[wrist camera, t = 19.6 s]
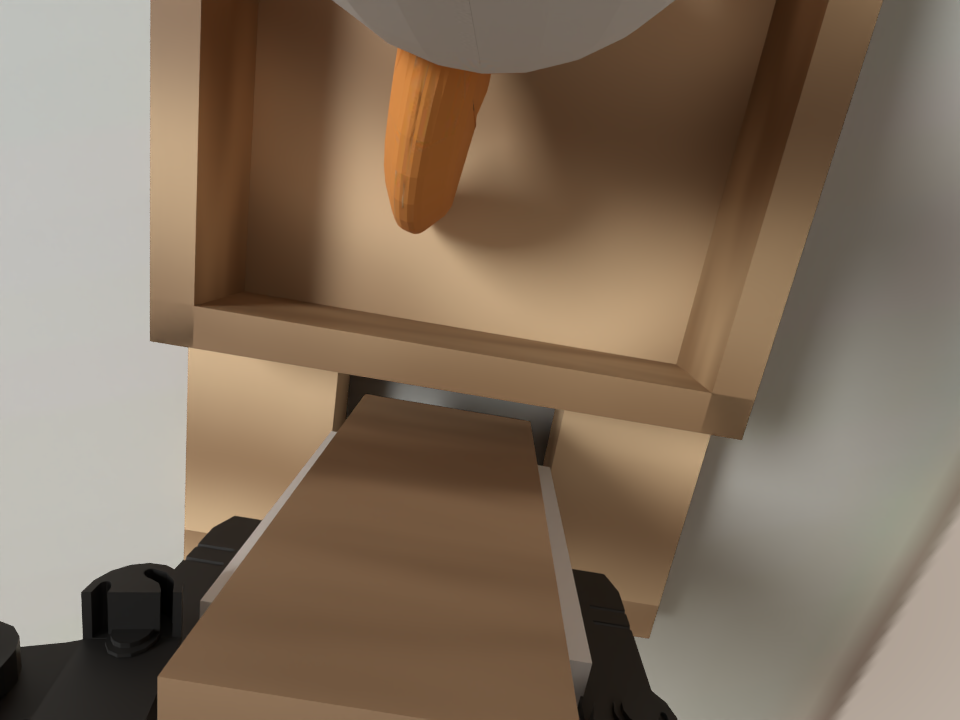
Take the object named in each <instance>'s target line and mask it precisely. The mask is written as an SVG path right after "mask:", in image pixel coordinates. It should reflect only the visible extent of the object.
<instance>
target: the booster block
mask: <svg viewBox="0 0 960 720" xmlns="http://www.w3.org/2000/svg"><path fill="white" fill-rule="evenodd" d="M157 720H579V715H578V709H577V703H576V697H575V691H574V685H573V679H572V672H571V666H570V660H569V654H568V648H567V642H566V636H565V630H564V624H563V618H562V611H561V605H560V599H559V593H558V587H557V581H556V575H555V569H554V563H553V557H552V550H551V544H550V538H549V532H548V526H547V520H546V514H545V508H544V502H543V496H542V489H541V483H540V477H539V471H538V465H537V459H536V453H535V447H534V441H533V435H532V429H531V422H530V421H525V420H519V419H513V418H507V417H501V416H495V415H489V414H483V413H477V412H471V411H465V410H459V409H453V408H447V407H441V406H435V405H429V404H423V403H417V402H411V401H405V400H399V399H393V398H387V397H381V396H375V395H369V394H365V395H364V396H363V398H362V399H361V400H360V402H359V403H358V404H357V406H356V407H355V408H354V410H353V411H352V413H351V414H350V415H349V417H348V418H347V419H346V421H345V422H344V423H343V425H342V426H341V428H340V429H339V430H338V432H337V433H336V434H335V436H334V437H333V438H332V440H331V441H330V442H329V444H328V445H327V447H326V448H325V449H324V451H323V452H322V453H321V455H320V456H319V457H318V459H317V460H316V462H315V463H314V464H313V466H312V467H311V468H310V470H309V471H308V472H307V474H306V475H305V477H304V478H303V479H302V481H301V482H300V483H299V485H298V486H297V487H296V489H295V490H294V491H293V493H292V494H291V496H290V497H289V498H288V500H287V501H286V502H285V504H284V505H283V506H282V508H281V509H280V511H279V512H278V513H277V515H276V516H275V517H274V519H273V520H272V521H271V523H270V524H269V526H268V527H267V528H266V530H265V531H264V532H263V534H262V535H261V536H260V538H259V539H258V540H257V542H256V543H255V545H254V546H253V547H252V549H251V550H250V551H249V553H248V554H247V555H246V557H245V558H244V560H243V561H242V562H241V564H240V565H239V566H238V568H237V569H236V570H235V572H234V573H233V575H232V576H231V577H230V579H229V580H228V581H227V583H226V584H225V585H224V587H223V588H222V589H221V591H220V592H219V594H218V595H217V596H216V598H215V599H214V600H213V602H212V603H211V604H210V606H209V607H208V609H207V610H206V611H205V613H204V614H203V615H202V617H201V618H200V619H199V621H198V622H197V624H196V625H195V626H194V628H193V629H192V630H191V632H190V633H189V634H188V636H187V637H186V638H185V640H184V641H183V643H182V644H181V645H180V647H179V648H178V649H177V651H176V652H175V653H174V655H173V656H172V658H171V659H170V660H169V662H168V663H167V664H166V666H165V667H164V668H163V670H162V671H161V673H160V674H159V675H158V677H157Z"/></svg>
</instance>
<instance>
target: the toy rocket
mask: <svg viewBox="0 0 960 720" xmlns="http://www.w3.org/2000/svg"><path fill="white" fill-rule="evenodd" d="M332 1H334V2H335V3H336V4H338V5H339V6H340V7H342V8H343V9H344V10H346V11H347V12H348V13H350V14H351V15H352V16H354V17H355V18H356V19H358V20H359V21H360V22H361V23H363V24H364V25H365V26H367V27H368V28H369V29H370V30H372V31H373V32H374V33H375V34H377V35H378V36H379V37H381V38H382V39H383V40H384V41H386V42H387V43H388V44H390V45H393V46H395V47H397V54H396V61H395V67H394V74H393V81H392V88H391V95H390V102H389V110H388V118H387V127H386V135H385V150H384V173H385V183H386V188H387V192H388V196H389V201H390V205H391V209H392V212H393V215H394V219H395V221H396V223H397V225H398V226H399V227H400V228H402V229H403V230H405V231H407V232H410V233H412V234H420V233H422V232H423V231H425V230H426V229H428V228H429V227H430V226H432V225H433V224H434V223H436V222H437V221H438V220H440V219H441V218H442V217H444V216H445V215H446V214H447V212H448V211H449V209H450V208H451V207H452V204H453V201H454V197H455V194H456V191H457V187H458V184H459V181H460V177H461V174H462V171H463V167H464V164H465V160H466V157H467V154H468V150H469V147H470V144H471V140H472V137H473V134H474V130H475V128H476V119H477V114H478V112H479V110H480V107H481V105H482V102H483V100H484V98H485V95H486V93H487V90H488V86H489V82H490V77H491V74H501V73H527V72H531V71H535V70H539V69H543V68H548V67H552V66H556V65H560V64H564V63H568V62H572V61H576V60H579V59H581V58H583V57H585V56H587V55H589V54H591V53H594V52H596V51H598V50H600V49H602V48H604V47H606V46H608V45H610V44H613V43H615V42H617V41H619V40H621V39H623V38H625V37H626V36H628V35H629V34H631V33H632V32H634V31H635V30H637V29H638V28H639V27H641V26H642V25H643V24H645V23H646V22H647V21H649V20H650V19H651V18H652V17H654V16H655V15H656V14H658V13H659V12H660V11H662V10H663V9H664V8H666V7H667V6H668V5H669V4H671V3H672V2H673V1H675V0H332Z"/></svg>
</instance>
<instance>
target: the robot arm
mask: <svg viewBox="0 0 960 720" xmlns="http://www.w3.org/2000/svg"><path fill="white" fill-rule="evenodd" d="M336 433H337V432H334V431H331V432H330V433H329V435H328V436H327V437H326V439H325V440H324V441H323V443H322V444H321V445H320V446H319V448H318V449H317V450H316V452H315V453H314V454H313V455H312V457H311V458H310V459H309V461H308V462H307V463H306V465H305V466H304V467H303V468H302V470H301V471H300V472H299V474H298V475H297V476H296V477H295V479H294V480H293V481H292V483H291V484H290V485H289V486H288V488H287V489H286V490H285V492H284V493H283V494H282V496H281V497H280V498H279V499H278V501H277V502H276V503H275V505H274V506H273V507H272V508H271V510H270V511H269V512H268V514H267V515H266V516H265V518H264V519H263V520H259V519H252V518H246V517H240V516H233V517H231V518H229V519H228V520H226V521H224V522H222V523H220V524H218V525H217V526H215V527H213V528H212V529H211V530H210V531H209V532H208V533H207V534H206V536H205V537H204V538H203V539H202V540H201V541H200V542H199V543H198V546H197V547H195V548H194V549H193V550H192V551H191V552H190V553H189V554H188V555H187V556H186V559H185V560H183V561H182V562H181V563H180V564H179V565H178V566H177V567H176V568H175V569H173V568H171V567H169V566H167V565H160V564H153V563H146V564H136V565H129V566H126V567H123V568H119V569H116V570H113V571H110V572H108V573H106V574H105V575H103V576H101V577H99V578H97V579H95V580H94V581H93V582H92V583H91V584H89V585H88V586H87V587H86V588H85V589H84V590H83V591H82V592H81V598H82V624H83V640H78V641H72V642H66V643H57V644H46V645H36V646H26V647H20V639H19V635H18V633H17V632H16V630H15V628H14V626H11V625H8V624H6V623H3V622H1V621H0V720H157V677H158V675H159V674H160V673H161V671H162V670H163V668H164V667H165V666H166V664H167V663H168V662H169V660H170V659H171V658H172V656H173V655H174V653H175V652H176V651H177V649H178V648H179V647H180V645H181V644H182V643H183V641H184V640H185V638H186V637H187V636H188V634H189V633H190V632H191V630H192V629H193V628H194V626H195V625H196V624H197V622H198V621H199V619H200V618H201V617H202V615H203V614H204V613H205V611H206V610H207V609H208V607H209V606H210V604H211V603H212V602H213V600H214V599H215V598H216V596H217V595H218V594H219V592H220V591H221V589H222V588H223V587H224V585H225V584H226V583H227V581H228V580H229V579H230V577H231V576H232V575H233V573H234V572H235V570H236V569H237V568H238V566H239V565H240V564H241V562H242V561H243V560H244V558H245V557H246V555H247V554H248V553H249V551H250V550H251V549H252V547H253V546H254V545H255V543H256V542H257V540H258V539H259V538H260V536H261V535H262V534H263V532H264V531H265V530H266V528H267V527H268V526H269V524H270V523H271V521H272V520H273V519H274V517H275V516H276V515H277V513H278V512H279V511H280V509H281V508H282V506H283V505H284V504H285V502H286V501H287V500H288V498H289V497H290V496H291V494H292V493H293V491H294V490H295V489H296V487H297V486H298V485H299V483H300V482H301V481H302V479H303V478H304V477H305V475H306V474H307V472H308V471H309V470H310V468H311V467H312V466H313V464H314V463H315V462H316V460H317V459H318V457H319V456H320V455H321V453H322V452H323V451H324V449H325V448H326V447H327V445H328V444H329V442H330V441H331V440H332V438H333V437H334V436H335V434H336ZM538 471H539V477H540V483H541V489H542V496H543V502H544V508H545V514H546V520H547V526H548V532H549V538H550V544H551V550H552V557H553V563H554V569H555V575H556V581H557V587H558V593H559V599H560V605H561V611H562V618H563V624H564V630H565V636H566V642H567V648H568V654H569V660H570V666H571V672H572V679H573V685H574V691H575V697H576V703H577V709H578V715H579V720H677V717H676V716H675V715H674V713H673V712H672V710H671V709H670V708H669V706H668V705H667V704H666V702H664V701H663V700H662V699H661V698H660V697H658V696H657V695H656V694H655V693H654V692H652V691H651V688H650V685H649V682H648V679H647V676H646V673H645V670H644V667H643V664H642V661H641V658H640V655H639V652H638V649H637V646H636V642H635V639H634V636H633V633H632V630H630V624H629V621H628V618H627V615H626V614H625V609H624V606H623V603H622V600H621V597H620V594H619V591H618V590H617V589H616V588H615V586H614V585H613V584H612V583H611V582H610V580H609V579H608V578H607V577H606V576H605V574H601V573H595V572H589V571H582V570H576V569H572V567H571V563H570V558H569V553H568V549H567V544H566V540H565V535H564V530H563V526H562V521H561V516H560V512H559V507H558V503H557V498H556V493H555V489H554V484H553V479H552V475H551V470H550V467H546V466H540V465H538Z"/></svg>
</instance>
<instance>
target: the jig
mask: <svg viewBox="0 0 960 720" xmlns="http://www.w3.org/2000/svg"><path fill="white" fill-rule="evenodd" d="M882 2H883V0H675V1H673V2H672V3H671V4H669V5H668V6H667V7H666V8H664V9H663V10H662V11H660V12H659V13H658V14H656V15H655V16H654V17H652V18H651V19H650V20H649V21H647V22H646V23H645V24H643V25H642V26H641V27H639V28H638V29H637V30H635V31H634V32H632V33H631V34H629V35H628V36H626V37H625V38H623V39H621V40H619V41H617V42H615V43H613V44H610V45H608V46H606V47H604V48H602V49H600V50H598V51H596V52H594V53H591V54H589V55H587V56H585V57H583V58H581V59H579V60H576V61H572V62H568V63H564V64H560V65H556V66H552V67H548V68H543V69H539V70H535V71H531V72H527V73H501V74H491V77H490V82H489V86H488V90H487V93H486V95H485V98H484V100H483V102H482V105H481V107H480V110H479V112H478V114H477V119H476V128H475V130H474V134H473V137H472V140H471V144H470V147H469V150H468V154H467V157H466V160H465V164H464V167H463V171H462V174H461V177H460V181H459V184H458V187H457V191H456V194H455V197H454V201H453V204H452V207H451V208H450V209H449V211H448V212H447V214H446V215H445V216H444V217H442V218H441V219H440V220H438V221H437V222H436V223H434V224H433V225H432V226H430V227H429V228H428V229H426V230H425V231H423V232H422V233H420V234H412V233H410V232H407V231H405V230H403V229H402V228H400V227H399V226H398V225H397V223H396V221H395V219H394V215H393V212H392V209H391V205H390V201H389V196H388V192H387V188H386V183H385V173H384V150H385V135H386V127H387V118H388V110H389V102H390V95H391V88H392V81H393V74H394V67H395V61H396V54H397V47H395V46H393V45H390V44H388V43H387V42H386V41H384V40H383V39H382V38H381V37H379V36H378V35H377V34H375V33H374V32H373V31H372V30H370V29H369V28H368V27H367V26H365V25H364V24H363V23H361V22H360V21H359V20H358V19H356V18H355V17H354V16H352V15H351V14H350V13H348V12H347V11H346V10H344V9H343V8H342V7H340V6H339V5H338V4H336V3H335V2H334V1H332V0H151V28H150V341H153V342H159V343H165V344H171V345H177V346H183V347H188V394H187V441H186V487H185V534H184V560H185V559H186V556H187V555H188V554H189V553H190V552H191V551H192V550H193V549H194V548H195V547H197V546H198V543H199V542H200V541H201V540H202V539H203V538H204V537H205V536H206V534H207V533H208V532H209V531H210V530H211V529H212V528H213V527H215V526H217V525H218V524H220V523H222V522H224V521H226V520H228V519H229V518H231V517H233V516H240V517H246V518H252V519H259V520H263V519H264V518H265V516H266V515H267V514H268V512H269V511H270V510H271V508H272V507H273V506H274V505H275V503H276V502H277V501H278V499H279V498H280V497H281V496H282V494H283V493H284V492H285V490H286V489H287V488H288V486H289V485H290V484H291V483H292V481H293V480H294V479H295V477H296V476H297V475H298V474H299V472H300V471H301V470H302V468H303V467H304V466H305V465H306V463H307V462H308V461H309V459H310V458H311V457H312V455H313V454H314V453H315V452H316V450H317V449H318V448H319V446H320V445H321V444H322V443H323V441H324V440H325V439H326V437H327V436H328V435H329V433H330V432H331V431H334V432H338V430H339V429H340V428H341V426H342V425H343V423H344V422H345V421H346V411H347V402H348V392H349V383H350V375H356V376H362V377H368V378H374V379H380V380H386V381H392V382H398V383H404V384H410V385H416V386H422V387H428V388H434V389H440V390H446V391H452V392H458V393H464V394H470V395H476V396H482V397H488V398H494V399H500V400H506V401H512V402H518V403H523V404H529V405H535V406H541V407H547V408H553V409H555V411H554V416H553V421H552V425H551V430H550V434H549V439H548V444H547V448H546V453H545V457H544V462H543V466H546V467H550V470H551V475H552V479H553V484H554V489H555V493H556V498H557V503H558V507H559V512H560V516H561V521H562V526H563V530H564V535H565V540H566V544H567V549H568V553H569V558H570V563H571V567H572V569H576V570H582V571H589V572H595V573H601V574H605V576H606V577H607V578H608V579H609V580H610V582H611V583H612V584H613V585H614V586H615V588H616V589H617V590H618V591H619V594H620V597H621V600H622V603H623V606H624V609H625V614H626V615H627V618H628V621H629V624H630V630H632V633H633V636H636V637H642V638H648V639H649V637H650V634H651V630H652V627H653V624H654V620H655V617H656V614H657V611H658V607H659V604H660V601H661V597H662V594H663V591H664V587H665V584H666V581H667V578H668V574H669V571H670V568H671V564H672V561H673V558H674V555H675V551H676V548H677V545H678V541H679V538H680V535H681V531H682V528H683V525H684V522H685V518H686V515H687V512H688V508H689V505H690V502H691V499H692V495H693V492H694V489H695V485H696V482H697V479H698V475H699V472H700V469H701V466H702V462H703V459H704V456H705V452H706V449H707V446H708V442H709V439H710V436H711V435H715V436H721V437H727V438H733V439H739V440H742V438H743V435H744V432H745V429H746V426H747V423H748V420H749V416H750V413H751V410H752V407H753V404H754V401H755V398H756V395H757V392H758V388H759V385H760V382H761V379H762V376H763V373H764V370H765V367H766V363H767V360H768V357H769V354H770V351H771V348H772V345H773V342H774V339H775V335H776V332H777V329H778V326H779V323H780V320H781V317H782V314H783V311H784V307H785V304H786V301H787V298H788V295H789V292H790V289H791V286H792V283H793V279H794V276H795V273H796V270H797V267H798V264H799V261H800V258H801V254H802V251H803V248H804V245H805V242H806V239H807V236H808V233H809V230H810V226H811V223H812V220H813V217H814V214H815V211H816V208H817V205H818V202H819V198H820V195H821V192H822V189H823V186H824V183H825V180H826V177H827V173H828V170H829V167H830V164H831V161H832V158H833V155H834V152H835V149H836V145H837V142H838V139H839V136H840V133H841V130H842V127H843V124H844V121H845V117H846V114H847V111H848V108H849V105H850V102H851V99H852V96H853V93H854V89H855V86H856V83H857V80H858V77H859V74H860V71H861V68H862V64H863V61H864V58H865V55H866V52H867V49H868V46H869V43H870V40H871V36H872V33H873V30H874V27H875V24H876V21H877V18H878V15H879V12H880V8H881V5H882Z"/></svg>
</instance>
